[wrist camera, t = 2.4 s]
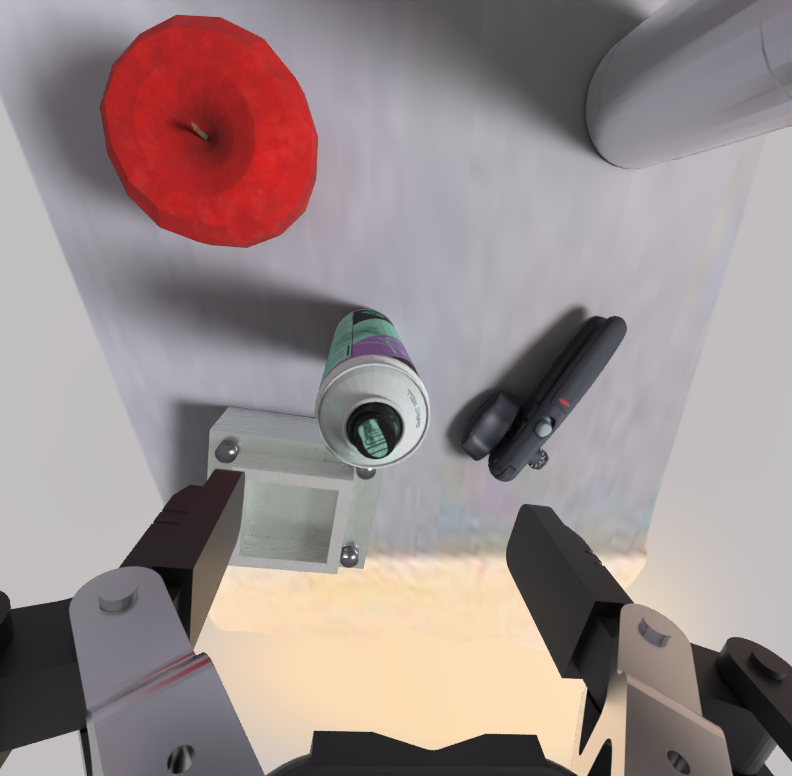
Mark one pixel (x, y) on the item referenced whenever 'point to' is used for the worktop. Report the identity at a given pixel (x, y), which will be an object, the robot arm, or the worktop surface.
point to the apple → (210, 132)
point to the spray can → (370, 394)
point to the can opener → (541, 404)
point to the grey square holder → (294, 493)
